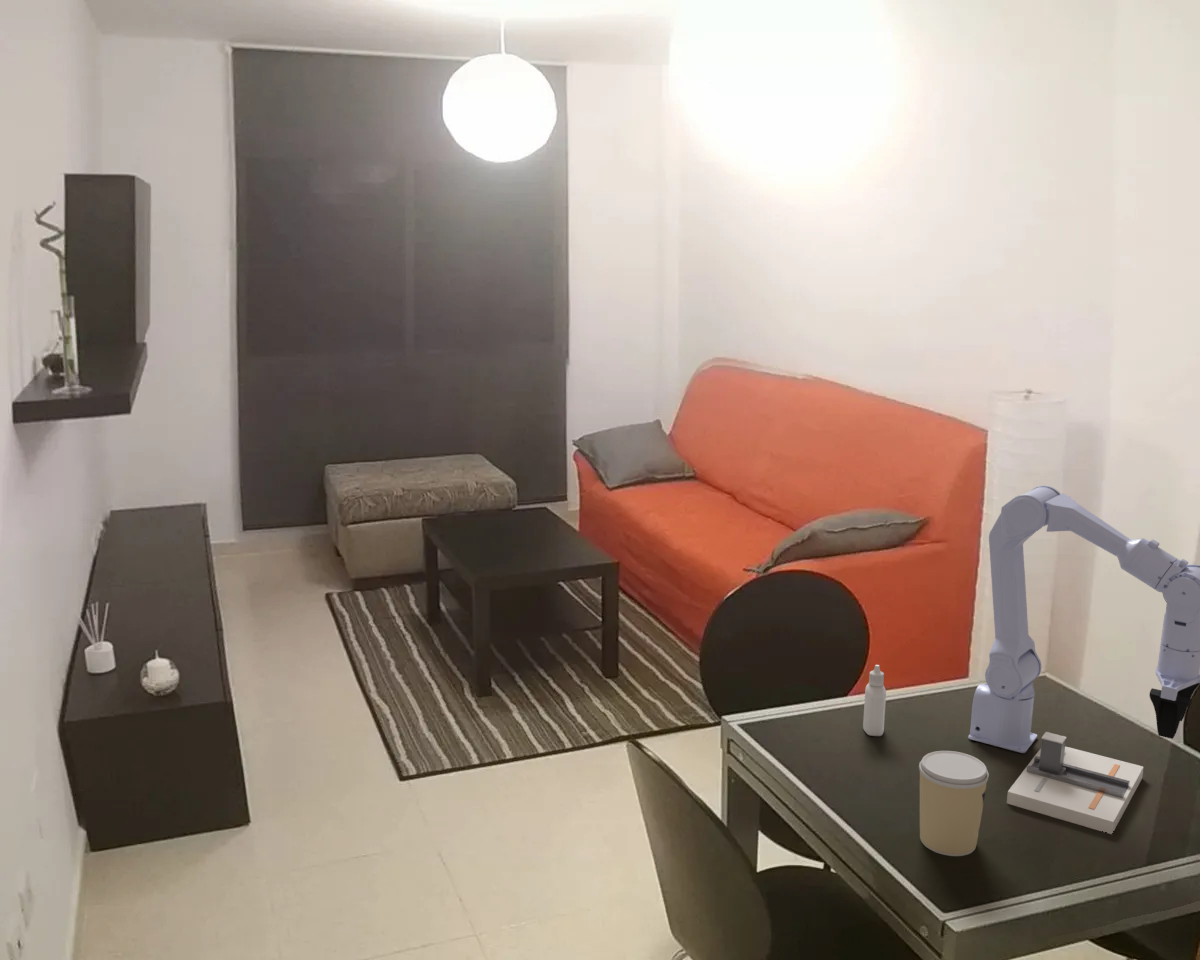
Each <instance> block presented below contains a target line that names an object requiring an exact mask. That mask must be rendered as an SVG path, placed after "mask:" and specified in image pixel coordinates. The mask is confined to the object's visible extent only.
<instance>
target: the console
mask: <svg viewBox="0 0 1200 960" xmlns="http://www.w3.org/2000/svg"><path fill="white" fill-rule="evenodd" d="M1040 753H1041V748H1040V749H1039V750H1038V751H1037V753H1036V754H1035V755H1034V756H1033V757H1032V759H1031V760H1030V762H1029V763H1028V765H1026V767H1025V768H1024V769H1023V771H1022V772H1021V774H1020V775H1019V776H1018V777H1017V779H1016V780H1015V781H1014V783H1013V784H1012V785H1011V786H1010V788H1009V789H1008V791H1007V797H1006V804H1008V805H1011V806H1014V807H1017V808H1021V809H1023V810H1024V809H1025V810H1027V811H1032V812H1035V813H1039V814H1041V815H1045V816H1048V817H1051V818H1055V819H1057V820H1062V821H1065V822H1069V823H1072V824H1074V825H1075V824H1076V825H1078V826H1083V827H1086V828H1088V829H1092V830H1095V831H1099V832H1102V831H1103V832H1102V833H1105V832H1107V833H1106V834H1109V835H1113V834H1112V833H1114V832H1113V831H1115V829H1116V827H1117V826H1118V825H1119V822H1120V821H1121V818H1122V817H1123V815H1124V812H1125V811H1126V809H1127V808H1128V806H1129V804H1130V802H1131V800H1132V798H1133V796H1134V794H1135V792H1136V791H1137V788H1139V785H1140V784H1141V781H1142V779H1143V775H1144V766H1142V765H1139V764H1135V763H1131V762H1127V761H1125V760H1124V761H1123V760H1119V759H1115V758H1112V757H1109V756H1105V755H1104V756H1103V755H1100V754H1096V753H1093V752H1088V751H1085V750H1081V749H1078V748H1074V747H1068V746H1066V745H1065V752H1064V762H1063V767H1064V768H1066V772H1065V774H1064V775H1062V774H1059V773H1055V772H1051V771H1048V770H1044V769H1040V768H1037V767H1036V766H1037V764H1038V763H1039V762H1040Z"/></svg>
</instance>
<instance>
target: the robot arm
mask: <svg viewBox="0 0 1200 960" xmlns="http://www.w3.org/2000/svg"><path fill="white" fill-rule="evenodd" d="M1045 526H1047V527H1046V532H1047V533H1049V532H1050V533H1054V532H1072V533H1073V534H1075V535H1078V536H1079V537H1081V538H1083V540H1084V539H1085V540H1086V541H1088V542H1090V543H1092V544H1094V545H1095V546H1097V547H1099V548H1101V549H1102V550H1104V551H1106V552H1108V553H1109V554H1112V555H1113V556H1114V557H1117V560H1118V563H1119V566H1120V569H1121V570H1123V571H1124V572H1126V573H1128V574H1129V575H1131V576H1133V577H1134V578H1135V579H1138V580H1139V581H1140V582H1142V583H1144V584H1145V585H1147V586H1149V587H1150V588H1151V589H1153V590H1156V591H1157V592H1159V593H1162V596H1163V599H1164V601H1165V603H1166V606H1165V612H1164V614H1163V615H1164V616H1163V621H1162V622H1163V623H1162V630H1161V639H1160V645H1159V654H1158V661H1157V666H1156V667H1155V676H1156V677H1157V680H1158V681H1159V683H1160V686H1161V689H1156V688H1153V687H1152V688H1150V691H1149V699H1150V701H1151V703H1152V705H1153V708H1154V712H1155V718H1156V721H1155V722H1156V728H1157V729H1156V730H1157V734H1158V736H1160V737H1162V738H1166V739H1167V738H1168V739H1171V740H1173V739H1174V737H1175V736H1176V735H1177V732H1178V730H1179V729H1178V728H1179V725H1180V722H1182V721H1183V720H1184V719H1185V716H1186V714H1187V713H1186V712H1187V710H1188V707H1189V706H1190V705H1191V703H1192V701H1193V699H1192V696H1193V694H1194V693H1195V691H1196V689H1198V687H1199V686H1200V564H1196V563H1195V564H1193V563H1192V564H1191V563H1189V561H1188V560H1186V559H1184V558H1182V559H1181V560H1180V559H1179V558H1177V557H1175V556H1174V555H1172V554H1170V553H1169V552H1167V551H1166V550H1164V549H1162V548H1160V542H1158V541H1157V540H1155V539H1154V538H1152V539H1149V540H1148V539H1146V538H1145V537H1144V538H1143V537H1142V538H1136V539H1132V538H1130V537H1128V536H1126V535H1124V534H1123V533H1121V532H1120V531H1119V530H1118V529H1116V528H1114V527H1113V526H1112V525H1110V524H1109V523H1107V522H1106V521H1104V520H1102V519H1101V518H1099V516H1097V515H1096V514H1094V513H1092V512H1091V511H1089V510H1088V509H1087V508H1085V507H1083V506H1082V505H1080V503H1078V502H1077V501H1076V500H1075V499H1073V498H1072V497H1071V496H1070V495H1068V494H1065V493H1061V492H1060V491H1058V490H1057V489H1056V488H1054V487H1053V486H1050V485H1039V486H1036V487H1034V488H1032V489H1031V490H1029V491H1027V492H1025V493H1023V494H1020V495H1017V496H1015V497H1012V498H1011V500H1009V501H1008V502H1006V503H1005V504H1004V505H1003V506H1001V509H1000V513H999V516H998V517H997V519H996V520H995V523H994V525H993V527H992V528H991V530H990V532H989V536H988V545H989V560H990V575H991V591H992V607H993V621H994V622H993V623H994V636H995V637H994V640H993V644H992V645H991V648H990V651H989V662H988V666H987V668H986V670H985V673H984V676H985V677H984V678H985V682H986V684H985V683H979V685H977V687H976V689H975V691H974V695H973V698H972V706H971V715H970V729H969V734H968V737H967V738H968V739H969V740H972V741H976V742H980V743H983V744H988V745H991V746H993V747H998V748H1002V749H1005V750H1009V751H1012V752H1016V753H1020V754H1026V753H1027V751H1028V750H1029V748H1031V746H1032V744H1033V743H1034V742H1035V741H1036V740H1037V739H1038V734H1037V733H1033V732H1032V724H1033V712H1034V702H1035V688H1034V681H1035V680H1036V679H1038V678H1039V676H1040V675H1041V673H1042V661H1041V659H1040V657H1039V655H1038V653H1037V652H1036V647H1035V640H1034V639H1033V638H1032V637H1031V636H1030V634H1029V621H1028V607H1027V606H1028V605H1027V604H1028V603H1027V589H1026V575H1025V574H1026V572H1025V571H1026V570H1025V556H1024V553H1025V552H1024V543H1025V542H1026V541H1027V540H1028V539H1030V538H1032V536H1033V535H1034V534H1036V532H1038V531H1040V530H1041V529H1042V528H1043V527H1045Z"/></svg>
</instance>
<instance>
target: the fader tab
mask: <svg viewBox="0 0 1200 960" xmlns="http://www.w3.org/2000/svg"><path fill="white" fill-rule="evenodd" d="M1066 740H1067V736H1065V735H1060V734H1056V733H1052V732H1049V731H1045V732H1044V733H1043V735H1042V736H1041V744H1040V745H1041V746H1040V749H1041V753H1040V762H1039V763H1038V764H1037V766H1036V767H1037V768H1040V769H1044V770H1048V771H1051V772H1055V773H1059V774H1062V775H1064V774H1065V772H1066V768H1064V767H1063V762H1064V752H1065V746H1066V742H1067V741H1066Z"/></svg>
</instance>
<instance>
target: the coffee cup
mask: <svg viewBox="0 0 1200 960" xmlns="http://www.w3.org/2000/svg"><path fill="white" fill-rule="evenodd" d="M918 770H919V839H920V841H921V843H922V844H923V846H924V847H926V848H927V849H929V850H930V851H933V852H934V853H936V854H939V855H944V856H949V857H963V856H967V855H970V854H972V853H973V852H974V851H975V850H976V847H977V843H978V840H979V839H978V838H979V833H980V826H981V822H982V815H983V809H984V803H985V798H986V796H985V795H986V789H987V783H988V781H989V777H990V776H989V775H990V773H989V771H988V769H987V766H986V765H985V763H984V762H983V761H981V760H980V759H979V758H977V757H975V756H973V755H970V754H967V753H965V752H961V751H960V752H959V751H953V750H937V751H935V750H934V751H932V752H929V753H926V754H925V755H924V756H923V757H922V759H921V761H919V764H918Z"/></svg>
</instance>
